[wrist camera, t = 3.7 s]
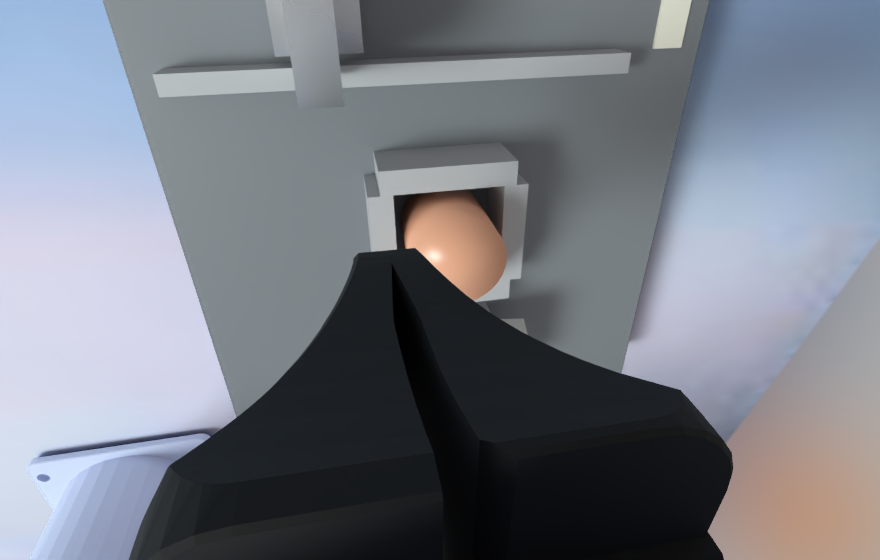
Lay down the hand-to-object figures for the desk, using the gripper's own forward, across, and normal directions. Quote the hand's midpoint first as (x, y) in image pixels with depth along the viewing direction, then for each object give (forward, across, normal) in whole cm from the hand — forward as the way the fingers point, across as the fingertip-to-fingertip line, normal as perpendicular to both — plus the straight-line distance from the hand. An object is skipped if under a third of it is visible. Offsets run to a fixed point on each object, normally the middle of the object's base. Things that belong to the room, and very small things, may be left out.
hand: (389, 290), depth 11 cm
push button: (+7, -2, +2) cm, 7 cm away
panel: (+9, -2, +2) cm, 10 cm away
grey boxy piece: (+7, +1, -5) cm, 9 cm away
